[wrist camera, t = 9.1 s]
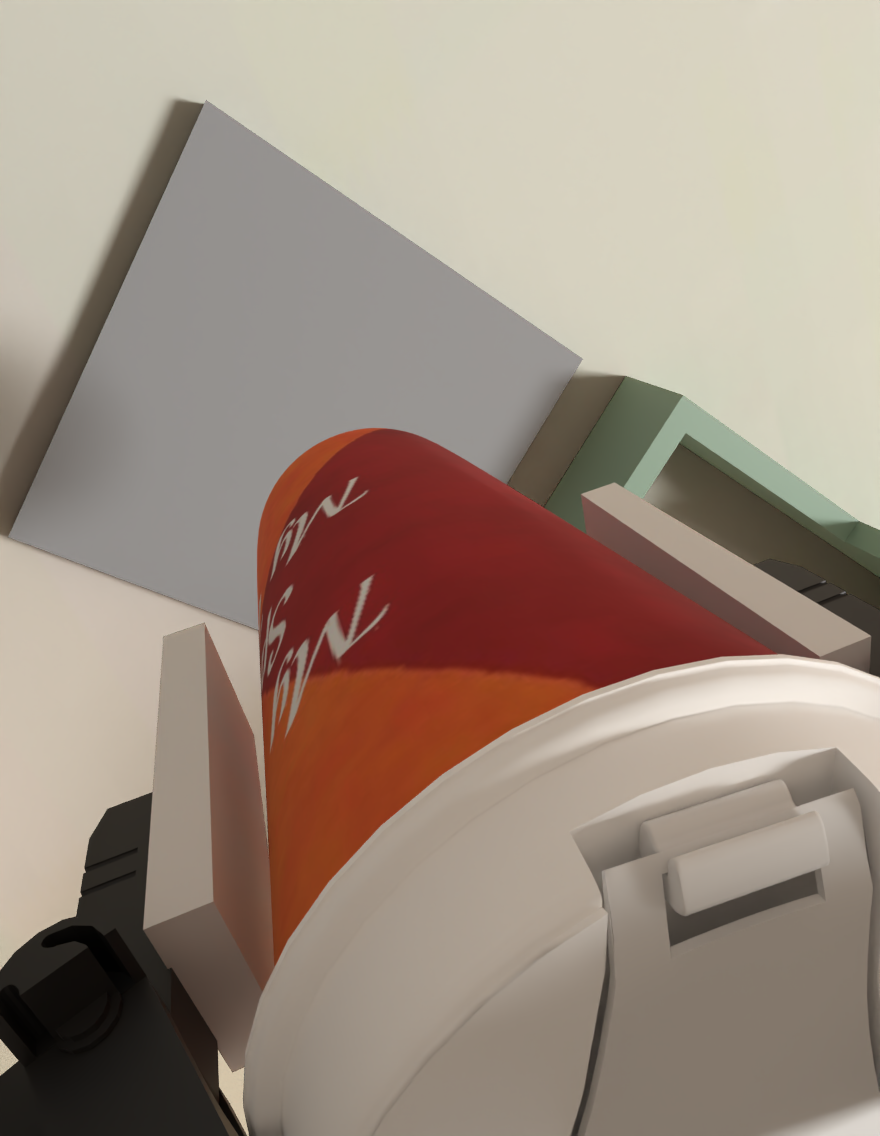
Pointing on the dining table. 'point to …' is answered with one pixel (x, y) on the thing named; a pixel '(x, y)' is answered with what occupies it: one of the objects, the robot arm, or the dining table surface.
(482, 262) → the dining table surface
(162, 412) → the rubber mat
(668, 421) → the green display box
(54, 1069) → the robot arm
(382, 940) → the paper cup
